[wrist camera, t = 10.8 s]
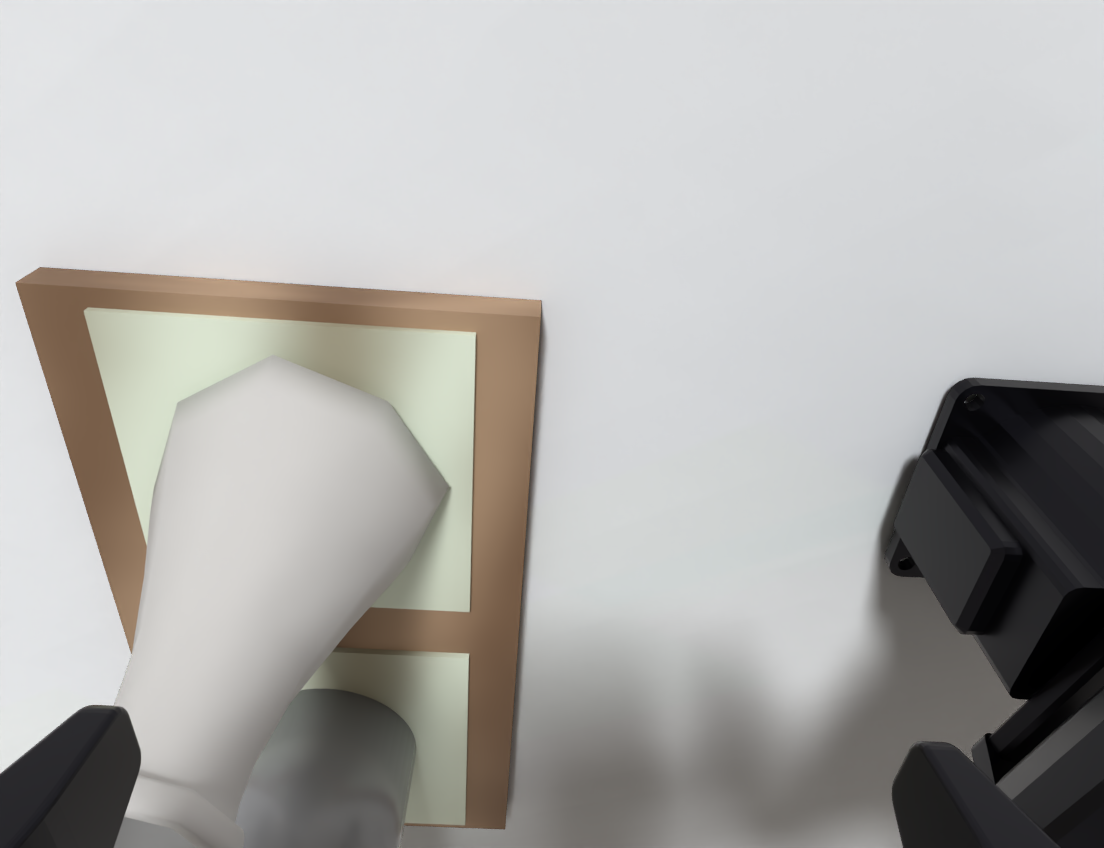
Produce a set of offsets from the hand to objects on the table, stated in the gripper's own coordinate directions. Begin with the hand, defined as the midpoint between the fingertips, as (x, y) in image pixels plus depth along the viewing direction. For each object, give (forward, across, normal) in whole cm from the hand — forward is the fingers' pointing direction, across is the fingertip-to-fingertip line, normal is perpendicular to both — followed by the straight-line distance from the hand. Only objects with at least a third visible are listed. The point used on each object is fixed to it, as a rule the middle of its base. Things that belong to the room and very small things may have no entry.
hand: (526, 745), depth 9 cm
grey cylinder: (+11, +6, +16) cm, 20 cm away
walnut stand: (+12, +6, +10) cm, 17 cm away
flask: (+11, +6, +4) cm, 13 cm away
